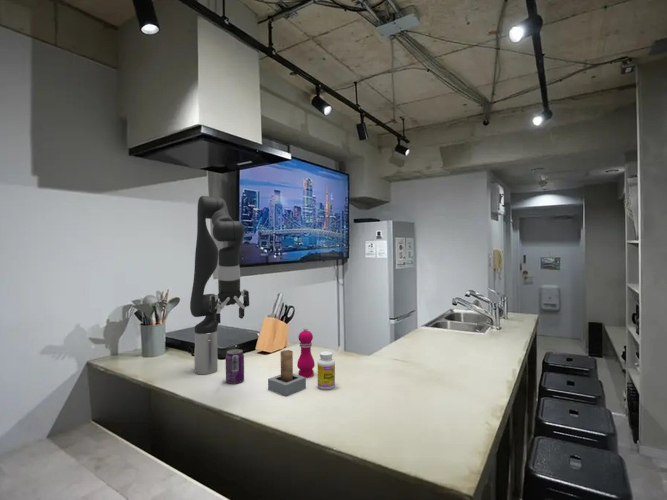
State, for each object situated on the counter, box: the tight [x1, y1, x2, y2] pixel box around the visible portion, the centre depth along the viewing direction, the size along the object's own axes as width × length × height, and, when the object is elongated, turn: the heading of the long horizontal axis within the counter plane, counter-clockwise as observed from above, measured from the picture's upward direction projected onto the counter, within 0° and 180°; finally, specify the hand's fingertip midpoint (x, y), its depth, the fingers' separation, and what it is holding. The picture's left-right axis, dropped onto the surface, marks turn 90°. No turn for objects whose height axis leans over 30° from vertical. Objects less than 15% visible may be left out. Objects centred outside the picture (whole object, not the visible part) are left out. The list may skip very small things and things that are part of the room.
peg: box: [280, 349, 294, 382], centre depth 137 cm, size 4×4×14 cm
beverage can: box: [225, 348, 245, 385], centre depth 145 cm, size 7×7×12 cm
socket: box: [267, 373, 307, 397], centre depth 137 cm, size 10×10×4 cm
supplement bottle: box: [317, 351, 336, 390], centre depth 138 cm, size 7×7×13 cm
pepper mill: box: [296, 327, 315, 379], centre depth 151 cm, size 7×7×20 cm
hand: (229, 320), depth 132 cm, fingers open, 8 cm apart
